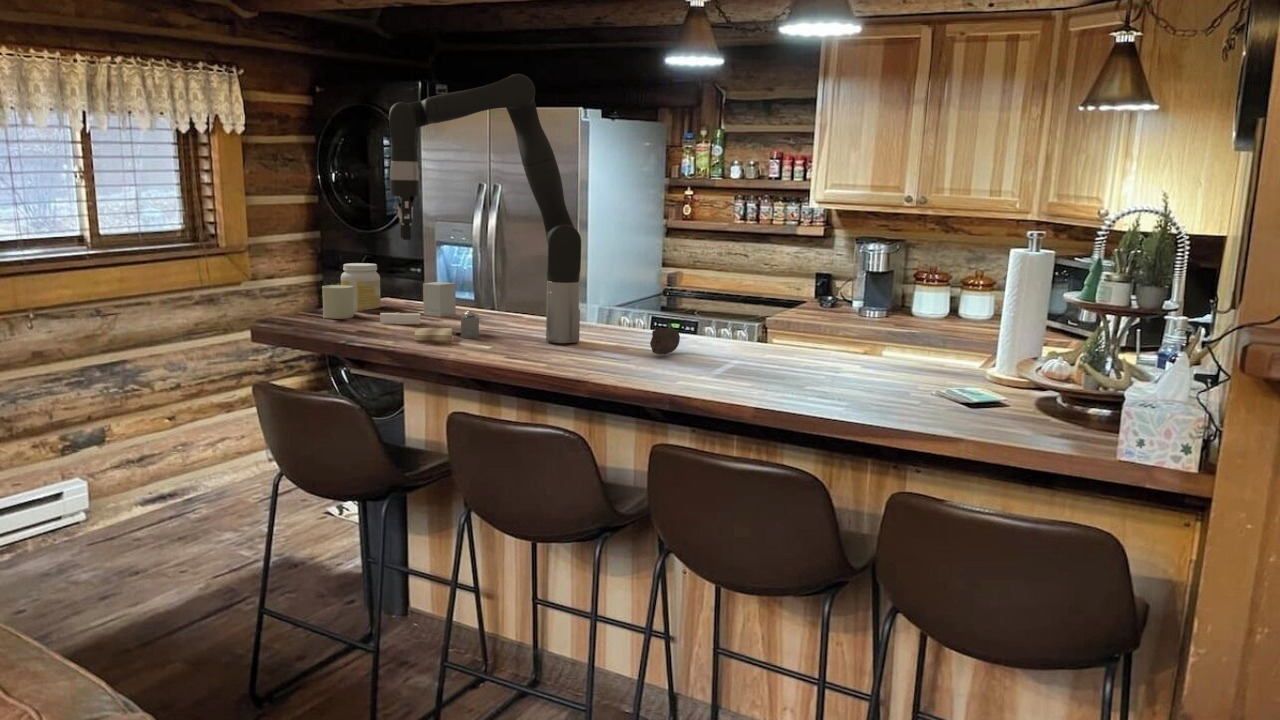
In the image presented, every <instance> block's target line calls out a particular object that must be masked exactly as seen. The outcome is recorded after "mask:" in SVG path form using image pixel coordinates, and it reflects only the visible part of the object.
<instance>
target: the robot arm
mask: <svg viewBox="0 0 1280 720" xmlns="http://www.w3.org/2000/svg"><path fill="white" fill-rule="evenodd" d="M535 96H536V87H535V84H534V82H533V80H531V78H529V76H526V75H525V74H522V73H515V74H511V75H509V76H508V77H505V78H503V79H500V80H498V81H496V82H493V83H489V84H485V85H484V86H483V85H482V86H478V87H474V88H470V89H464V90H458V91H453V92H448V93H444V94H443V93H442V94H438V95H433V96H429V97H427V98H425V99H422V100H418V101H414V102H413V101H412V102H404V101H399V102H396V103H394V104H393V105H392V106H390V109H389V113H388V122H389V132H390V133H389V134H390V166H389V168H390V171H389V176H390V177H389V180H390V196H391V197H399V198H400V199H399V200H398V203H397V206H396V208H397V213H398V214H397V216H398V221H399V222H398V223H399V225H400V238H401V239H402V240H405V241H406V240H408V241H409V240H411V239H412V227H411V226H412V225H413V217H414V215H413V210H414V205H413V202H412V201H411V198H414V197H415V198H417V197H419V196H420V172H419V171H420V170H419V166H418V165H419V164H418V163H419V162H418V145H417V140H416V139H417V138H416V136H417V135H416V134H417V131H416V130H417V128H421V127H424V126H427V125H431V124H441V123H444V122H448V121H453V120H457V119H461V118H465V117H468V116H470V115H474V114H477V113H481V112H484V111H489V110H495V109H506V110H507V113H508V116H509V118H510V121H511V123H512V126H513V129H514V131H515V135H516V141H517V147H518V151H519V155H520V159H521V162H522V167H523V169H524V173H525V177H526V179H527V183H528V184H529V188H530V190H531V193H532V195H533V197H534V199H535V201H536V203H537V206H538V208H539V211H540V213H541V218H542V222H543V226H544V230H545V236H546V243H547V269H546V309H545V310H546V311H545V312H546V314H545V315H546V317H545V320H546V324H545V340H546V341H547V342H548V343H555V344H556V343H557V344H572V343H580V329H581V328H580V322H581V309H580V277H581V270H582V269H581V267H582V266H581V265H582V264H581V263H582V262H581V261H582V238H581V235H580V232H579V230H577V229H576V228H575V225H574V224H573V221H572V218H571V217H570V214H569V212H568V209H567V206H566V201H565V194H564V189H563V182H562V177H561V173H560V169H559V166H558V165H559V164H558V162H557V159H556V156H555V153H554V151H553V148H552V145H551V143H550V142H549V141H550V140H549V139H548V137H547V135H546V133H545V131H544V129H543V127H542V124H541V121H540V118H539V114H538V109H537V106H536V99H535Z"/></svg>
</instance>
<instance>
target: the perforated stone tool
mask: <svg viewBox="0 0 1280 720" xmlns="http://www.w3.org/2000/svg"><path fill="white" fill-rule="evenodd" d="M651 333H652V334H651V339H650V341H649V342H650V343H649V344H650V348H651V351H652V353H653V354H656V355H667V354H670V353H672V352H674V351H675V350H677V349H678V347H679V345H680V340H681V337H680V333H679V331H678V330H677V329H674V328H671V327H665V328H660V329H654V330H652V331H651Z"/></svg>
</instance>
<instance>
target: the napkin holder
mask: <svg viewBox="0 0 1280 720" xmlns="http://www.w3.org/2000/svg"><path fill="white" fill-rule="evenodd" d="M379 314H380V315H379V316H380V317H379V318H380V324H383V325H384V324H385V325H386V324H388V325H390V324H393V325H394V324H396V325H421V313H401V312H380V313H379Z"/></svg>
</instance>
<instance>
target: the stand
mask: <svg viewBox="0 0 1280 720" xmlns="http://www.w3.org/2000/svg"><path fill="white" fill-rule="evenodd" d="M413 338H414V341H420V342H418V344H437V345H438V344H440V345H441V344H444V345H445V344H451V341H453V328H452V327H416V328H415V332H414V337H413Z"/></svg>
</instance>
